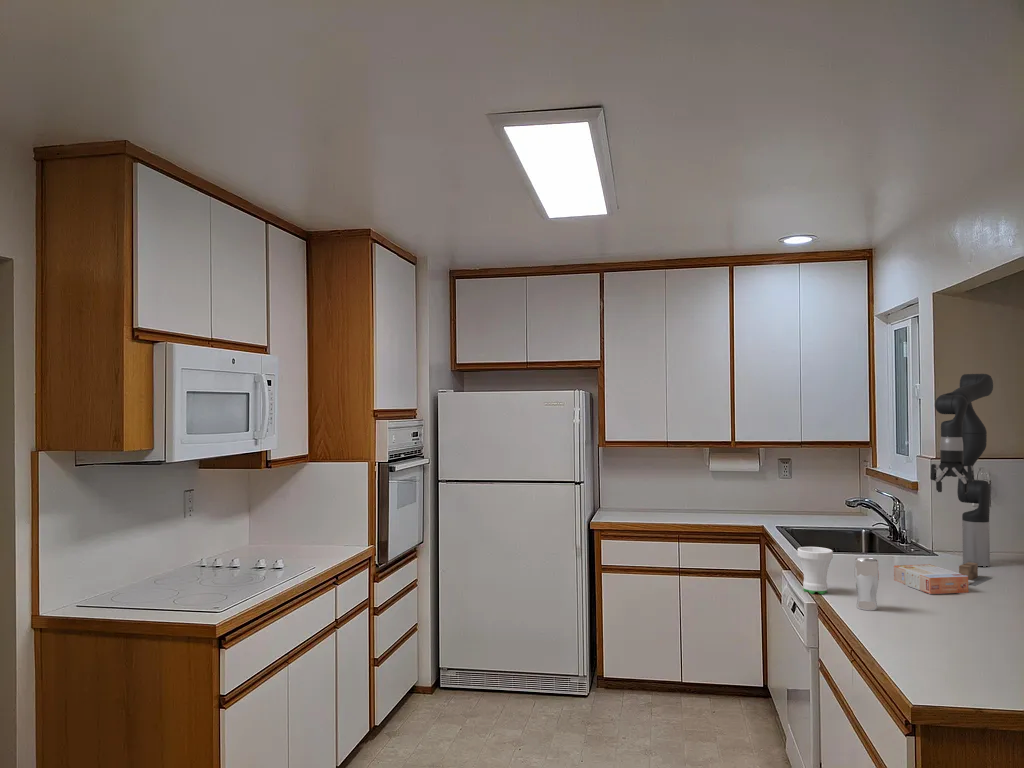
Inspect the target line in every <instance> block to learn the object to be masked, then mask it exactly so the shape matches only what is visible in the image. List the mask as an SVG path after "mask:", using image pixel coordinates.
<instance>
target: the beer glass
mask: <svg viewBox="0 0 1024 768" xmlns="http://www.w3.org/2000/svg"><path fill="white" fill-rule="evenodd" d="M879 566H880V565H879V560H878V559H877V558H872V557H856V558H854V581H855V587H856V591H857V602H856V608H857V609H858V610H861V611H867V612H869V611H870V612H872V611H874V612H875V611H878V608H879V607H878V601H877V595H878V594H877V593H878V589H879V582H880V581H879V580H880V568H879Z"/></svg>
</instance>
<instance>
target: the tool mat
mask: <svg viewBox="0 0 1024 768" xmlns="http://www.w3.org/2000/svg"><path fill="white" fill-rule="evenodd" d="M989 580H992V577H990V576H982V575H978V577H977V578H975V579H973V580H972V581H975V582H974V583H972V584H970V585H969V586H972V587H976V586H978V585H979V586H980V584H982V583H985V582H987V581H989Z"/></svg>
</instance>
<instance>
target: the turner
mask: <svg viewBox="0 0 1024 768" xmlns="http://www.w3.org/2000/svg"><path fill="white" fill-rule="evenodd" d="M978 569H979V568H978V563H971V562H968V563H965V564H963V563H962V564H960V565H958V573H960V574H963V575H966V576H968V586H971V585H970V584H972V583H974V582H975V581H972V580H973V579H975V578H977V577H978V576H979V574H978V573H979V572H978V571H979V570H978Z"/></svg>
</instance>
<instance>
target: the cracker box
mask: <svg viewBox="0 0 1024 768" xmlns="http://www.w3.org/2000/svg"><path fill="white" fill-rule="evenodd" d="M893 580H894V581H895V582H898V583H901V584H902V585H905V586H907V587H910V588H912V589H915V590H918V591H920V592H923V593H926V594H929V595H941V594H942V595H943V594H961V593H963V594H965V593H969V592H970V591H969V585H968V576H966V575H963V574H960V573H959V572H957V571H956V572H955V571H953V570H951V569H946V568H943V567H940V566H936V565H933V564H930V563H928V564H925V563H924V564H903V565H902V564H901V565H899V564H898V565H894V566H893Z"/></svg>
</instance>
